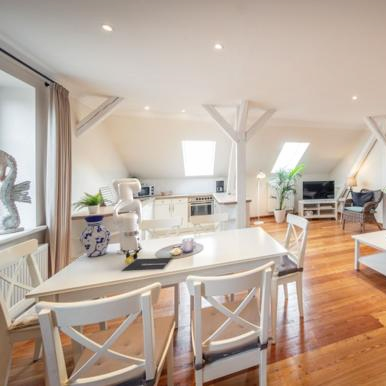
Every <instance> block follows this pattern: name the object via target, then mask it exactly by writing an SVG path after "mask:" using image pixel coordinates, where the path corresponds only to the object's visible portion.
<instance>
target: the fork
mask: <svg viewBox="0 0 386 386" xmlns="http://www.w3.org/2000/svg"><path fill="white" fill-rule="evenodd" d="M165 264H166V263H164V264H142V265H141V266H148V265H165Z"/></svg>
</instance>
